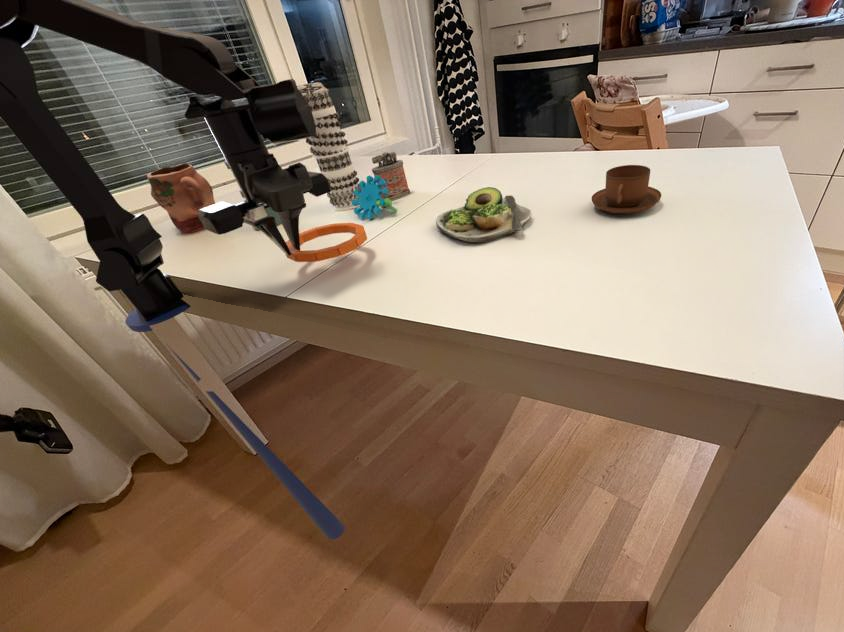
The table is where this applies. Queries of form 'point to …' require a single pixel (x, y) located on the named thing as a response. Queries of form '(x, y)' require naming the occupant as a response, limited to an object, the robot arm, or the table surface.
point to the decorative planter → (181, 194)
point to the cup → (270, 213)
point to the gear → (371, 198)
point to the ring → (330, 251)
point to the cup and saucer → (626, 190)
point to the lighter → (391, 175)
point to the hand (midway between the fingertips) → (293, 252)
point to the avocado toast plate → (484, 217)
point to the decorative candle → (331, 147)
